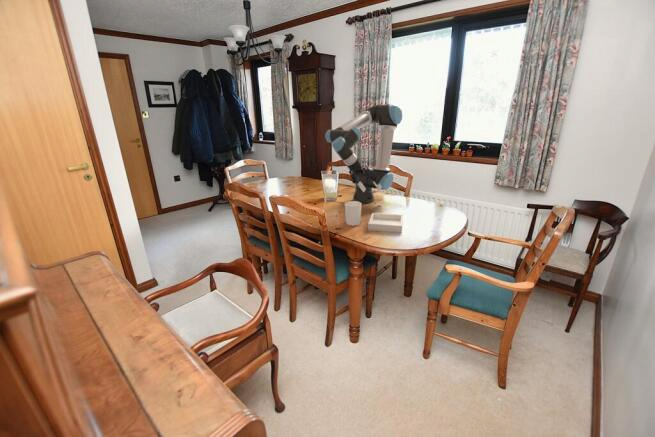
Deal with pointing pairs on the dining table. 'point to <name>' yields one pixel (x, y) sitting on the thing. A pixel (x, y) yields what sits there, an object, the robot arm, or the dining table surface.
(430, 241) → the dining table surface
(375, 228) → the crate
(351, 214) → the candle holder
